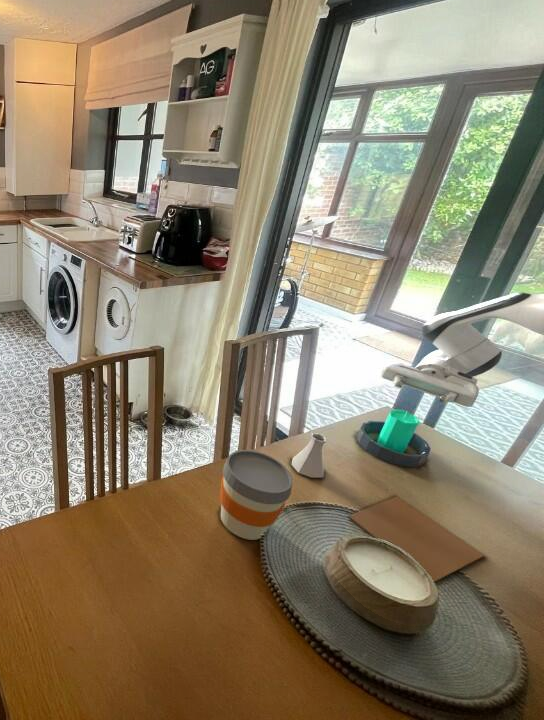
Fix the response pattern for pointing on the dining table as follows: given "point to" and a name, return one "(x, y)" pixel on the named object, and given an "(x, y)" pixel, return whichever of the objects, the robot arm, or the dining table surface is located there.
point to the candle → (398, 430)
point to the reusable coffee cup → (253, 492)
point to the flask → (311, 458)
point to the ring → (387, 453)
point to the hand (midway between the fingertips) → (420, 392)
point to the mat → (417, 537)
